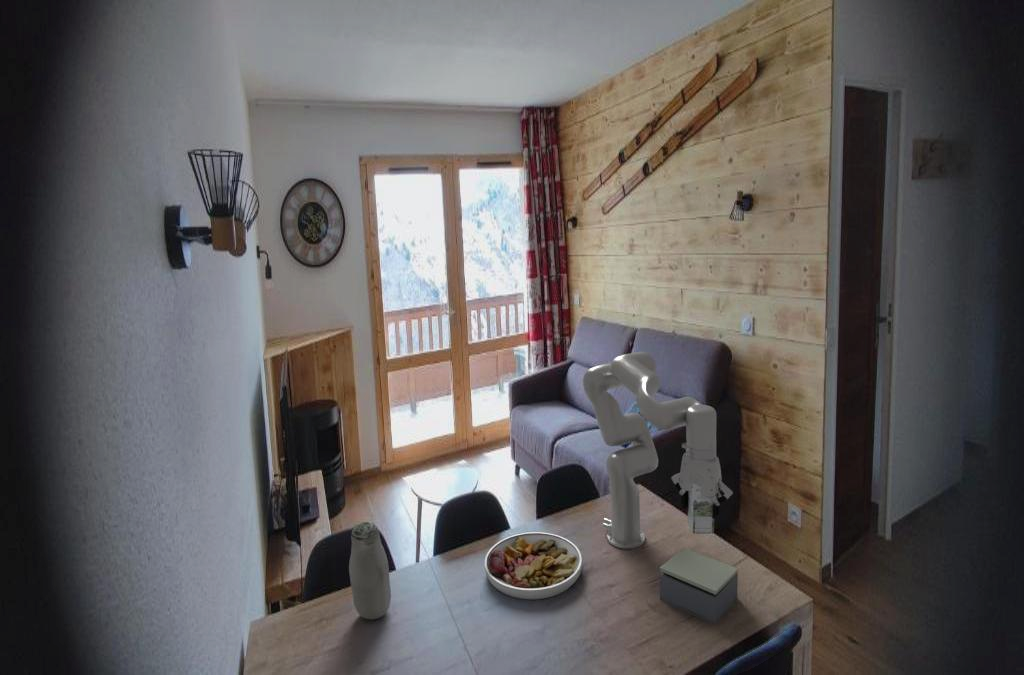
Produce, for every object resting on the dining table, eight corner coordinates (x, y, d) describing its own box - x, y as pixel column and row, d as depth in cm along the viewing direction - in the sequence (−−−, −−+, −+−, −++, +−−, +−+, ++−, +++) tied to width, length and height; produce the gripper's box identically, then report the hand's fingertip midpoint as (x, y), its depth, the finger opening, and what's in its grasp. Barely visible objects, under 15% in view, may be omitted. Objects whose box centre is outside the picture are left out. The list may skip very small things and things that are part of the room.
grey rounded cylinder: (349, 623, 153) (336, 531, 148) (371, 599, 162) (360, 512, 157) (378, 630, 149) (367, 537, 144) (399, 606, 159) (389, 517, 153)
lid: (659, 570, 153) (659, 567, 153) (683, 551, 163) (683, 547, 163) (715, 594, 142) (715, 591, 142) (737, 572, 152) (737, 568, 152)
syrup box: (708, 522, 154) (708, 474, 151) (714, 534, 148) (715, 484, 145) (687, 523, 154) (687, 475, 151) (692, 534, 148) (692, 485, 146)
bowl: (558, 537, 189) (557, 516, 188) (599, 589, 161) (599, 565, 160) (474, 558, 180) (472, 536, 179) (502, 617, 152) (500, 592, 151)
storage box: (659, 599, 155) (659, 574, 153) (683, 575, 164) (683, 551, 163) (715, 625, 144) (715, 598, 142) (737, 598, 153) (737, 572, 152)
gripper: (664, 448, 150) (664, 507, 153) (728, 464, 138) (727, 527, 142) (677, 440, 155) (677, 497, 159) (739, 454, 143) (738, 515, 147)
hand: (700, 511), depth 150 cm, fingers closed on syrup box, 8 cm apart
